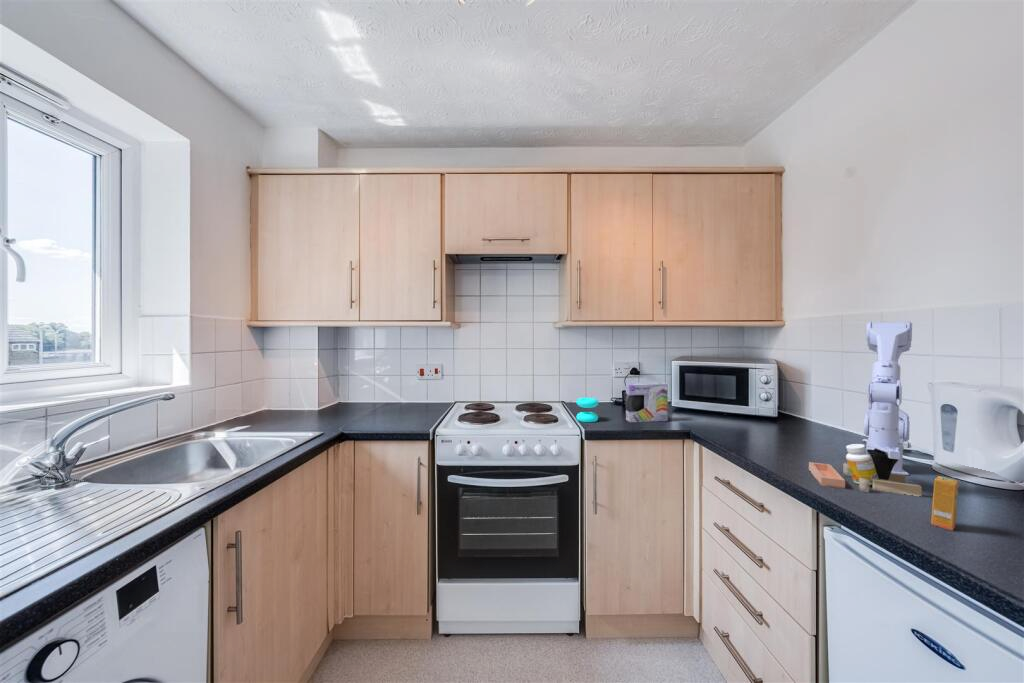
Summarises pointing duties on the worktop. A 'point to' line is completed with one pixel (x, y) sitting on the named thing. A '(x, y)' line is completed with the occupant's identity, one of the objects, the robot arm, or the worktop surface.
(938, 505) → the supplement box
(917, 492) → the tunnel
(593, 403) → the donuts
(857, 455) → the supplement bottle
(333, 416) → the worktop surface
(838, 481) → the tray
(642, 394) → the cake pan box
